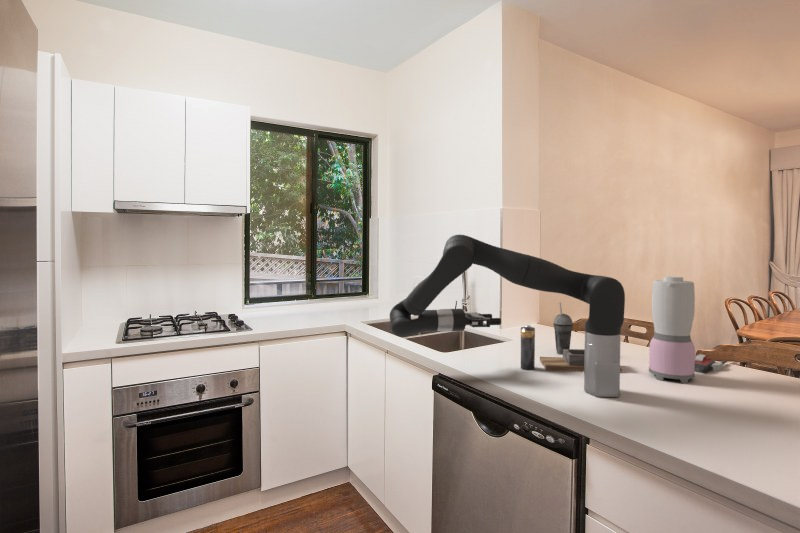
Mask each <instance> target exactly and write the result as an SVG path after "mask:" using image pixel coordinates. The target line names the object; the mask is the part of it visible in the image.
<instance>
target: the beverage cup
mask: <svg viewBox="0 0 800 533" xmlns="http://www.w3.org/2000/svg"><path fill="white" fill-rule="evenodd" d="M559 310H560V313H559V314H557V315H556V316H555V317H554V318H553V319H554V320H553V328H554V329H553V330H554V339H555V349H556V350H555V351H556V354H557V355H562V356H563V349H571V339H572V330H573V326H574V323H573V320H572V318H571V316H570V315H568V314H566V313H563V311H562V303H561V302H559Z"/></svg>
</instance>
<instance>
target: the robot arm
mask: <svg viewBox="0 0 800 533" xmlns="http://www.w3.org/2000/svg"><path fill="white" fill-rule="evenodd" d="M473 265H477V266H480V267H483V268H486V269H489V270H491V271H492V272H494V273H495V274H496V275H497V274H498V275H499V276H500V277H502V278H504V279H505V280H506V281H509V282H510V283H512V284H514V285H516V286H520V287H525V288H528V289H531V290H536V291H540V292H547V293H554V294H555V293H556V294H561V295H565V296H568V297H571V298H574V299H576V300H578V301H582V302H583V303H586V304H588V305H589V306H588V307H589V308H588V309H589V310H588V311H589V314H588V318H587V320H586V321H585V322H584V323H585V324H584V349H585V356H584V372H583V377H584V378H583V379H584V380H583V381H584V382H583V389H584V391H585V392H586V393H588V394H590V395H592V396H595V397H600V398H601V397H603V398H620V394H621V388H620V386H621V373H620V367H621V335H622V332H621V329H622V327H623V324H624V321H625V320H624V319H625V309H626V308H625V304H626V294H625V289H624V286H623V285H622V283H621V282H620V281H619V280H618V279H616V278H613V277H611V276H605V275H597V274H588V273H583V272H578V271H573V270H569V269H568V268H565V267H563V266H561V265H558V264H556V263H554V262H552V261H549V260H546V259H543V258H542V257H537V256H534V255H529V254H526V253H521V252H517V251H514V250H511V249H506V248H503V247H499V246H495V245H492V244H489V243H487V242H484V241H481V240H479V239H476V238H474V237H471V236H469V235H465V234H455V235H451V236H450V237H449V238H448V239H447V240H446V242H445V244H444V247H443V251H442V256H441V258H440V260H439V262H438V263H437V265H436V266H435V267H434V269H433V271H432V272H431V273H430V274H429V275H428V276H427V277H425V278H424V279H423V280H422V281H420V282H419V283H418V284H417V285H416V286H415V287H414V288H413V289H412V291H411V292H410V293H409V294H408V296H406V298H405V299H403V300H401V301H399V302H398V303H396V304H395V305H394V306H393V307H392V308H391V310H390V312H389V323H390V324H389V325H390V330H391V332H392V334H393V335H394V336H396V337H401V338H406V337H409V336H413V335H416V334H420V333H423V332H463V331H464V330H465V329H466V326H469V327H471V328H490V327H491V326H501V324H502V319H501V318H500V317H493V314H492V313H480V312H465V310H464V309H463V308H441V309H427V308H428V307H429V306H430V305H431V304H432V303H433V301H434V300H435V299H436V298H437V297H439V295H440V294H441V293H442V292H443V291H444V289H446V287H448V286H449V285H450V284H451V283H452V282H454V281H455V280H456V279H457V278H459V277H460V276H461V275H462V274H463V273H465V272H466V271H467V270H469V269H470V268H471V267H472V266H473ZM412 316H414V317H415V316H416V317H417V318H415V319H412Z"/></svg>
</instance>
